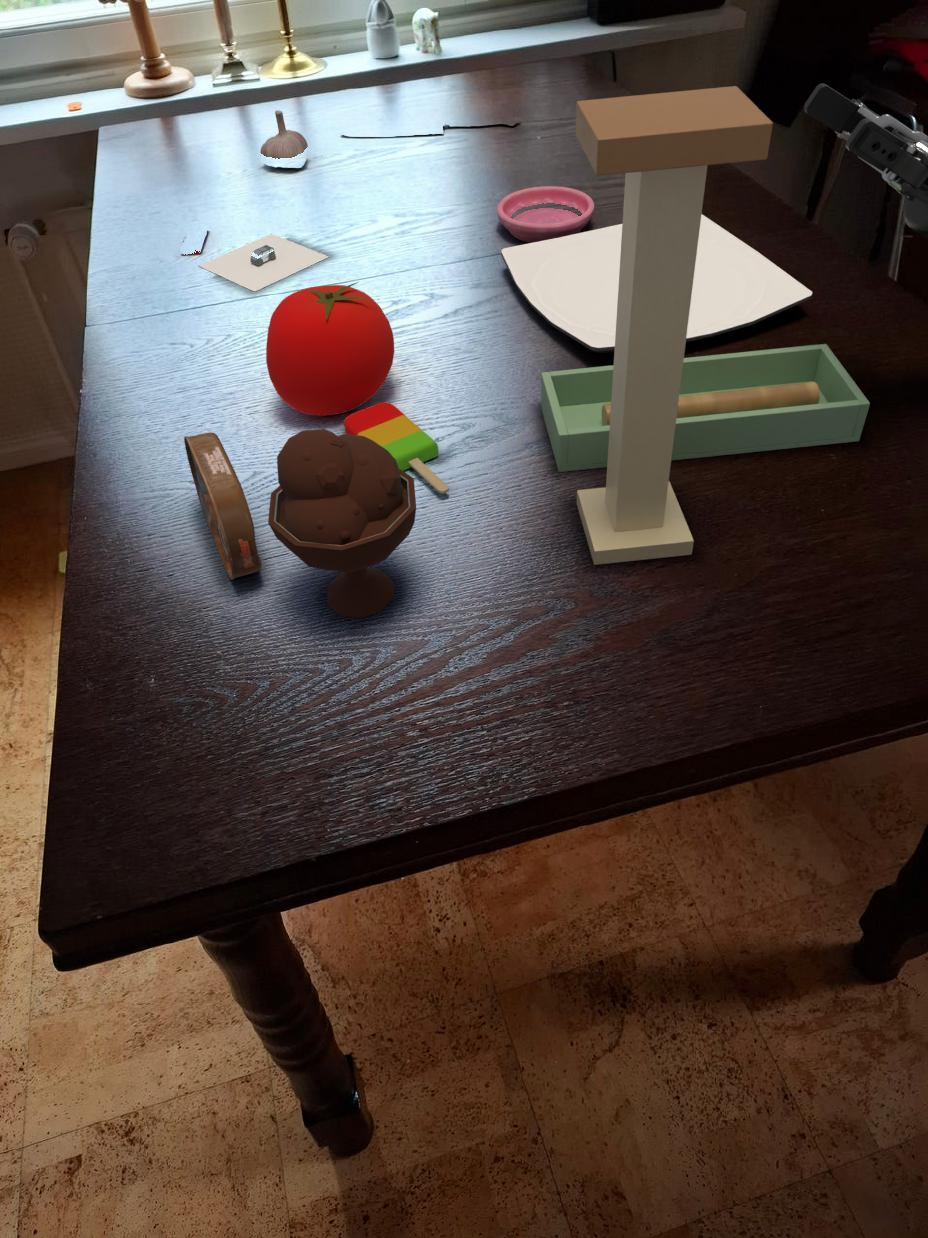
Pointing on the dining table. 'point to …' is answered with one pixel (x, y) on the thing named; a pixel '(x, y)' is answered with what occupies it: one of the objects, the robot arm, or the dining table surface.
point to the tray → (833, 420)
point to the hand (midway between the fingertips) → (832, 113)
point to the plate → (589, 279)
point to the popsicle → (397, 439)
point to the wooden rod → (740, 400)
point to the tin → (223, 504)
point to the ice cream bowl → (343, 513)
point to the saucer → (545, 213)
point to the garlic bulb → (284, 142)
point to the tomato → (328, 349)
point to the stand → (655, 295)
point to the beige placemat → (263, 262)
